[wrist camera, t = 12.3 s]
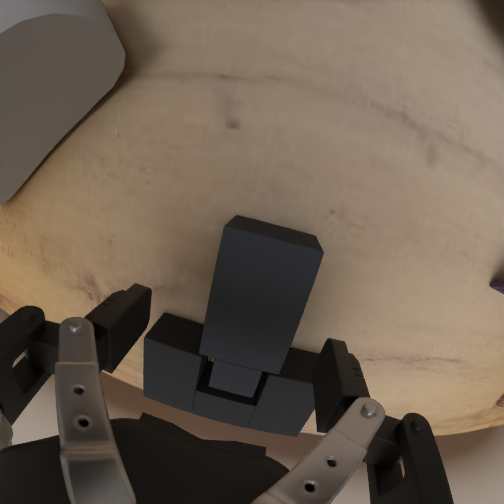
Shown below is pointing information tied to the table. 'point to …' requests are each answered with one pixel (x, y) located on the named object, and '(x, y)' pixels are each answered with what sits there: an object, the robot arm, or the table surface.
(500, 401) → the figurine
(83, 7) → the alarm clock
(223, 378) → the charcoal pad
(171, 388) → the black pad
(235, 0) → the table surface
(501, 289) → the purple toy package
